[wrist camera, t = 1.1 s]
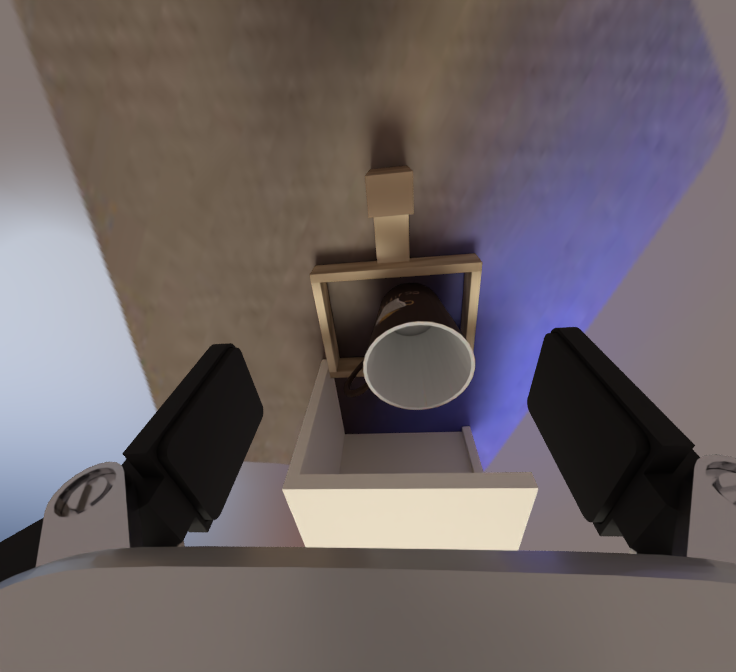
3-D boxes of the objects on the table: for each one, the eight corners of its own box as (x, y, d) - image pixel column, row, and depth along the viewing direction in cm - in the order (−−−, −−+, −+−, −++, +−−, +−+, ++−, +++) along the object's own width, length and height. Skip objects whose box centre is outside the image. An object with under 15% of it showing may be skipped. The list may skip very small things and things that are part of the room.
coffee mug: (447, 264, 29) (472, 311, 21) (454, 338, 34) (477, 403, 25) (332, 286, 31) (312, 338, 23) (353, 354, 36) (342, 419, 27)
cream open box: (322, 359, 36) (282, 489, 22) (478, 352, 35) (538, 488, 21) (338, 439, 44) (316, 574, 30) (468, 436, 42) (508, 578, 28)
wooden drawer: (298, 176, 26) (271, 185, 20) (483, 157, 24) (515, 160, 18) (333, 363, 36) (323, 408, 30) (465, 358, 35) (482, 403, 29)
